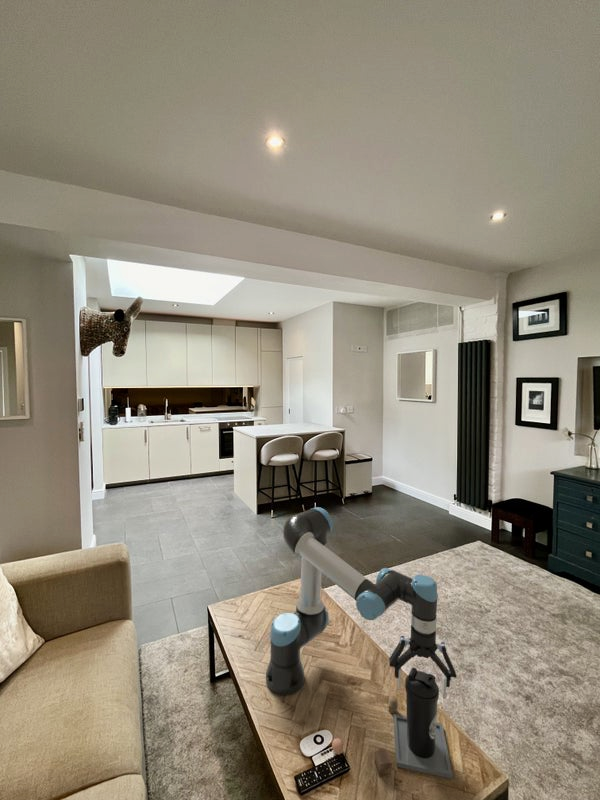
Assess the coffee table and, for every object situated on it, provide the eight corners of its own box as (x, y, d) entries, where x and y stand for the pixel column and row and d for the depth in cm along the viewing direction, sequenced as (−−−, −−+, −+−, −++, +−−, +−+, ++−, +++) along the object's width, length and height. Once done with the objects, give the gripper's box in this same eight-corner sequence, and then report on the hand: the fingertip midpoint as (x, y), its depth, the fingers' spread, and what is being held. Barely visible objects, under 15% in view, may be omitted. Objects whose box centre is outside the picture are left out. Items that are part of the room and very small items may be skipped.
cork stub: (388, 714, 123) (389, 702, 123) (388, 706, 126) (388, 694, 126) (397, 715, 122) (397, 703, 122) (397, 708, 125) (397, 696, 125)
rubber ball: (331, 756, 109) (331, 745, 109) (332, 744, 112) (332, 733, 112) (342, 758, 108) (343, 747, 108) (343, 747, 112) (343, 736, 111)
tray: (396, 766, 106) (396, 762, 106) (393, 717, 122) (393, 713, 122) (452, 778, 103) (452, 774, 103) (441, 727, 118) (441, 723, 118)
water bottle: (433, 768, 105) (435, 695, 104) (400, 749, 111) (401, 679, 110) (440, 739, 114) (442, 671, 113) (409, 723, 119) (410, 658, 118)
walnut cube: (379, 777, 103) (379, 764, 103) (374, 762, 107) (374, 750, 107) (392, 775, 104) (392, 762, 104) (386, 761, 108) (387, 748, 108)
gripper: (383, 628, 109) (381, 693, 111) (468, 642, 104) (465, 709, 105) (382, 613, 117) (381, 674, 118) (462, 625, 112) (459, 688, 113)
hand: (421, 690), depth 112 cm, fingers open, 13 cm apart
